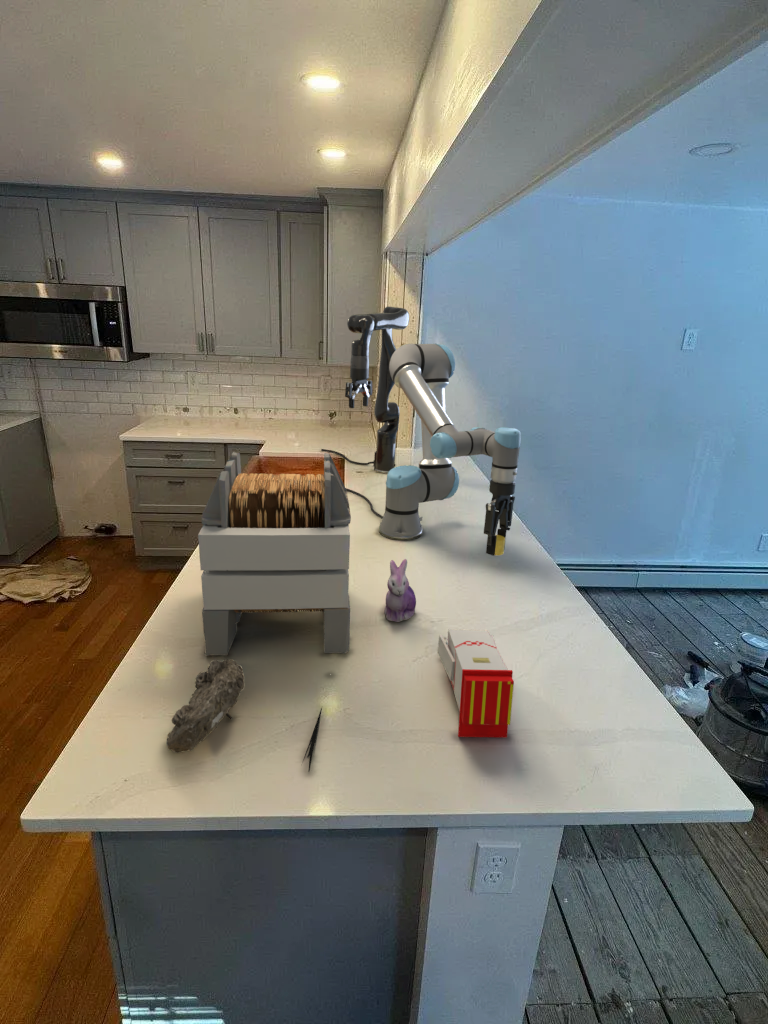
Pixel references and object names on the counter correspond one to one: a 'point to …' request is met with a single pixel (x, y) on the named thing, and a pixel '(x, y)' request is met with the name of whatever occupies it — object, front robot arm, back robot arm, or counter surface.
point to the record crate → (275, 551)
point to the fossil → (206, 705)
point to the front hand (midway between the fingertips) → (495, 551)
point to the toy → (478, 682)
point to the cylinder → (499, 545)
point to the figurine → (399, 594)
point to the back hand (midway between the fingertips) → (358, 407)
